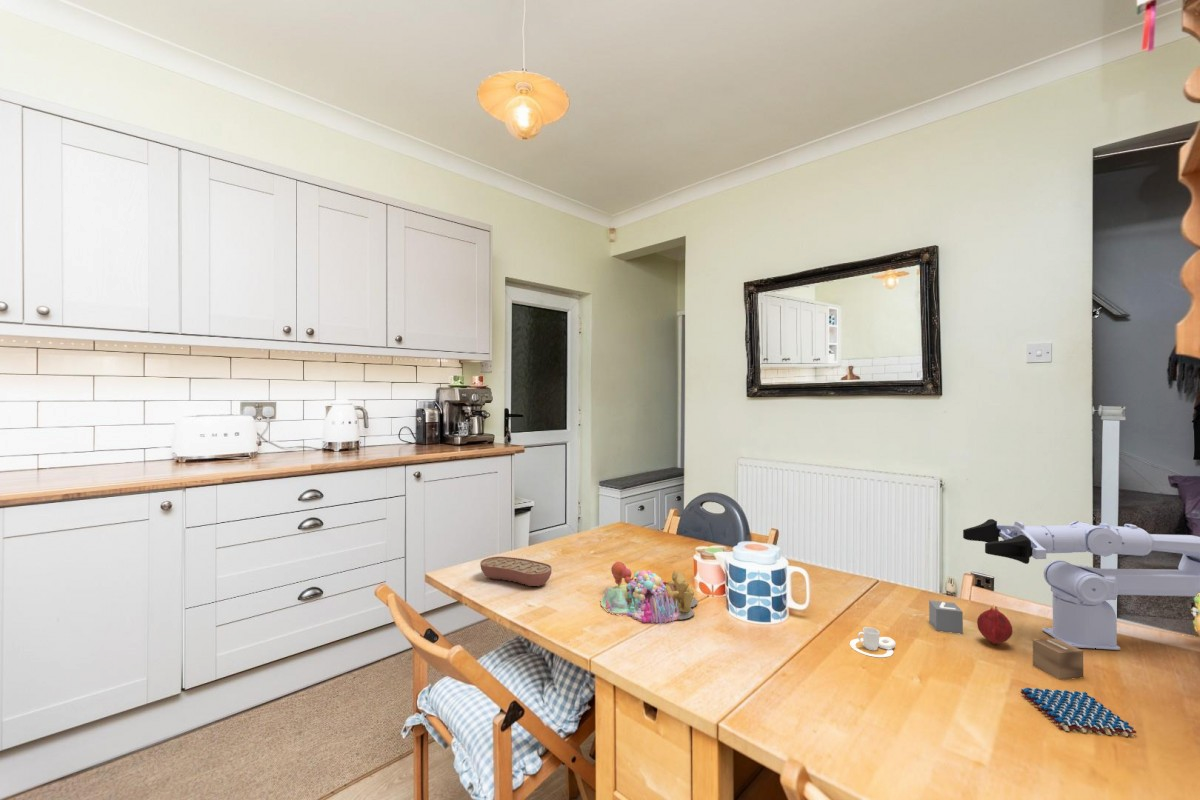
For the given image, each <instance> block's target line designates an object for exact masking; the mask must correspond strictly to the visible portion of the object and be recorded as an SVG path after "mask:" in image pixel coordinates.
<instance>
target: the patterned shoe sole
mask: <svg viewBox="0 0 1200 800" xmlns="http://www.w3.org/2000/svg"><path fill="white" fill-rule="evenodd" d="M479 565H480V570H481V572H482V574H483V575H484V576H485V577H487V578H489V579H491V578H493V579H492V580H497V579H502V580H501V581H505V580H508V581H507V582H511V581H513V583H516V582H518V583H517V584H521V585H524V584H525V586H529V587H531V586H538V587H540V585H541V586H543V585H545V584H546V583H547V582H548V581H549V579H550V577H551V575H552V571H553V570H552V565H550V564H549V563H548V564H547V563H546V562H545V563H544V562H540V561H537V560H531V559H525V558H517V557H511V556H510V557H509V556H492V557H487V558H483V559H482V560H480V563H479Z"/></svg>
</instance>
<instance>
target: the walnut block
mask: <svg viewBox="0 0 1200 800" xmlns="http://www.w3.org/2000/svg"><path fill="white" fill-rule="evenodd" d="M1032 666H1033V667H1035V668H1037V669H1039V670H1040V671H1043V672H1045V673H1046V674H1048V675H1050V676H1051V677H1053V678H1056V679H1058V680H1060V681H1061V680H1072V678H1075V679H1081V678H1080V677H1083V678H1084V650H1081V648H1077V647H1073V646H1071V645H1069V644H1067V643H1065V642H1062V641H1060V640H1058V639H1056V638H1054V637H1053V638H1043V639H1032Z"/></svg>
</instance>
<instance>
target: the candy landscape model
mask: <svg viewBox="0 0 1200 800" xmlns="http://www.w3.org/2000/svg"><path fill="white" fill-rule="evenodd" d="M611 574H612V575H613V579H614V582H615V584H617V585H616V586H613V587H607V588H606V590H605V592H604V594H602V596H601V599H600V600H601V602H600V607H601V606H602V607H603V608H605V609H606V610H607V611H608V612H611V613H613V614H619V615H621V614H623V615H629V616H628V617H631V616H632V617H633V618H632V617H631V618H632V619H633V620H635V619H637V620H636V621H638V620H639V622H640V621H641V622H640V623H643V624H647V623H652V624H654V623H655V624H658V623H659V625H661V624H662V623H664V624H665V625H666V623H668V622H671V623H672V624H674V621H676V620H686V619H689V618H691V617H693V616H695V612H694V611H693V607H695V606H696V605H698V603H699V600H697V599H696V597H695V591H694V590H693V588H692V587H690V586H689V582H687V580H686V576H685V573H683V572H682V571H679V570H673V572H672V574H671V580H669V581H668V582H666V581H664V580H663V579H662V578H661V576H660V575H658V574H657V573H653V572H652V571H651V570H649V569H648V570H644V569H643V570H638V571H636V572H635V573H634V575H633V577H632V571H631V570H630V568H627V567H626V565H625V564H624V562H621V561H616V562H614V563H613V564H612V565H611ZM631 577H632V578H631ZM623 579H624V583H625V584H622V583H623ZM602 607H601V608H602ZM603 608H602V609H603ZM607 611H606V612H607ZM608 612H607V613H608ZM623 615H621V616H623ZM646 622H647V623H646Z"/></svg>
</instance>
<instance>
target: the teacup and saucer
mask: <svg viewBox="0 0 1200 800" xmlns="http://www.w3.org/2000/svg"><path fill="white" fill-rule="evenodd" d="M860 635H862V637H861V638H860ZM880 635H881V633H880V631H879V630H878V629H877V628H874V627H870V626H865V627H863V628H862V631H860V632H858V633H857V638H853V639H851V640H850V642H849V646H850V647H851V649H853V651H855V652H857V653H859V654H861V655H864V656H868V657H872V658H882V659H883V658H889V657H891V656H892V655H894V650H893V649H894V648H896V645H897V643H896V641H895V640H894V639H893V638H891V637H889V636H880ZM859 642H860V644H861V645H862V646H863V647H865V649H866V650H868V651H873V652H874V651H878V648H880V649H882V650H886V652H885V653H883V654H873V653H868V652H865V651H863V650H861V649H859V648H858V646H856V645H857V643H859Z"/></svg>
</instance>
